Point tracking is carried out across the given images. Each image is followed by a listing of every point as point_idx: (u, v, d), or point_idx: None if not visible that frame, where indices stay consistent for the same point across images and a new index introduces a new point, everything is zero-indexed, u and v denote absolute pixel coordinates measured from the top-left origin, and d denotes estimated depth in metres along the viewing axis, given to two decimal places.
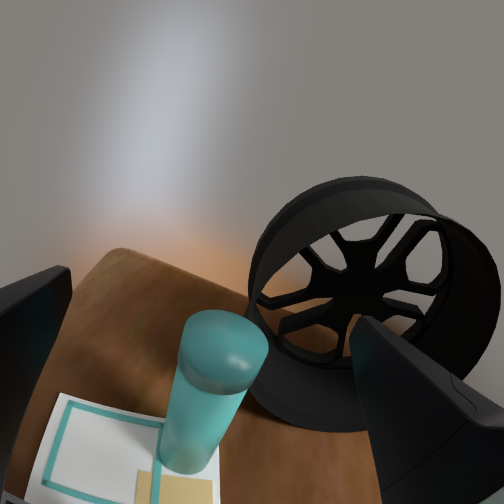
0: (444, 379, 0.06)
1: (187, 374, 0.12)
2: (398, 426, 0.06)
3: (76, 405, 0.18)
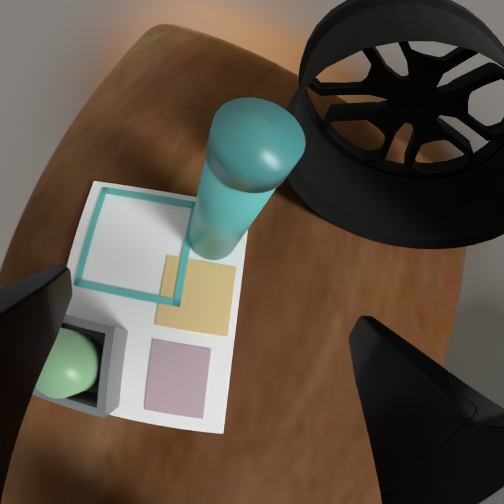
0: (444, 379, 0.06)
1: (214, 168, 0.12)
2: (398, 426, 0.06)
3: (109, 191, 0.21)
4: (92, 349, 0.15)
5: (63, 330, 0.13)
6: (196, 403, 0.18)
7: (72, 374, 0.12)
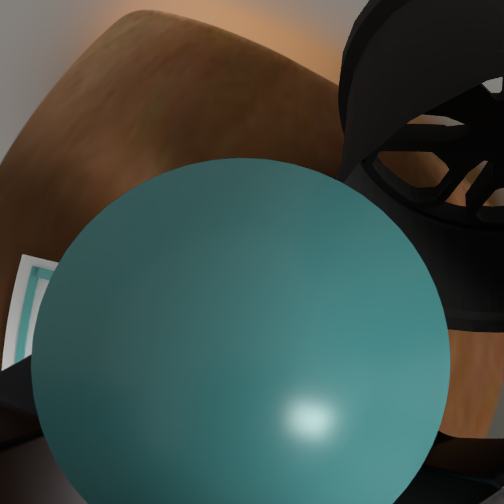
0: None
1: None
2: None
3: (42, 274, 0.13)
4: None
5: None
6: None
7: None
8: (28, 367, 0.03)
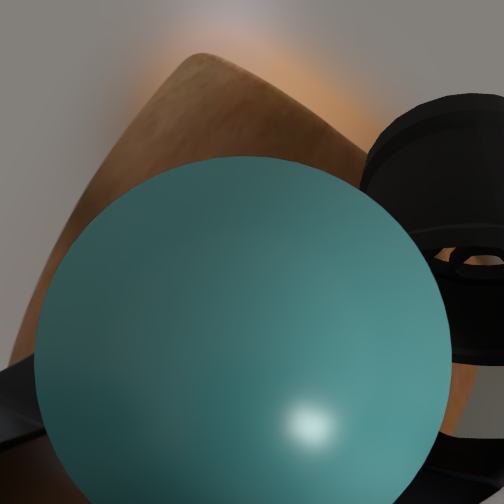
0: None
1: None
2: None
3: None
4: None
5: None
6: None
7: None
8: (28, 367, 0.03)
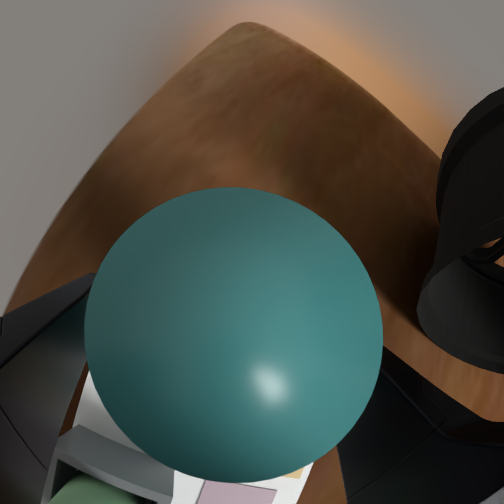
0: (412, 382, 0.05)
1: None
2: (363, 431, 0.06)
3: None
4: None
5: None
6: None
7: None
8: None
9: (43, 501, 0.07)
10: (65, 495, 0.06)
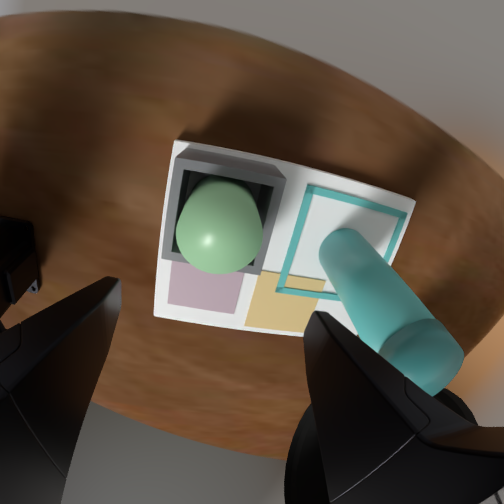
0: (395, 384, 0.05)
1: (399, 337, 0.11)
2: (345, 433, 0.06)
3: (400, 221, 0.20)
4: None
5: (257, 251, 0.14)
6: (182, 300, 0.21)
7: (207, 260, 0.14)
8: None
9: (214, 167, 0.14)
10: (257, 212, 0.13)
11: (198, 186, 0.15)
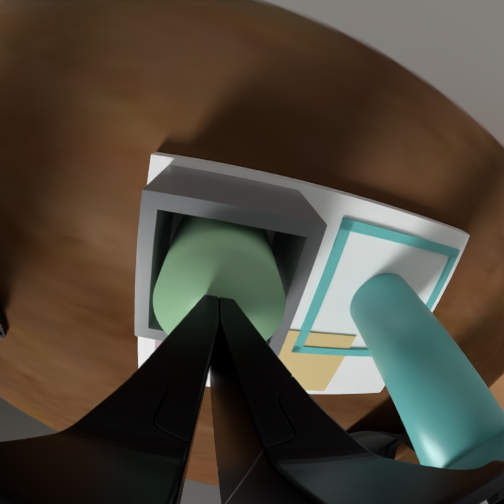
0: (270, 383, 0.05)
1: (470, 460, 0.05)
2: (224, 433, 0.05)
3: (451, 261, 0.14)
4: None
5: (276, 327, 0.09)
6: None
7: None
8: (128, 397, 0.04)
9: (208, 207, 0.08)
10: (277, 272, 0.09)
11: (187, 223, 0.10)
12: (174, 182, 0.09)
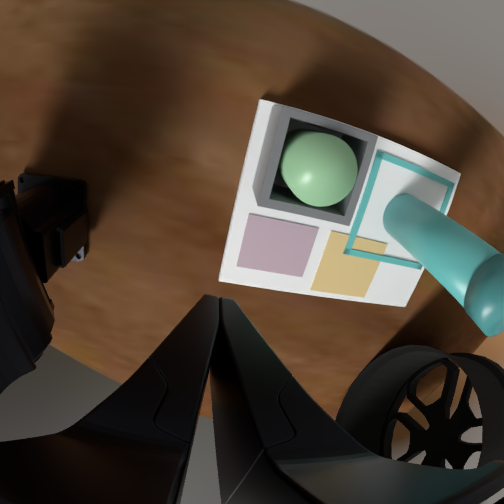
0: (270, 383, 0.05)
1: (486, 266, 0.11)
2: (224, 433, 0.05)
3: (449, 191, 0.20)
4: None
5: (351, 186, 0.15)
6: (252, 262, 0.22)
7: (311, 192, 0.15)
8: (128, 397, 0.04)
9: (318, 119, 0.14)
10: None
11: (293, 134, 0.16)
12: None
